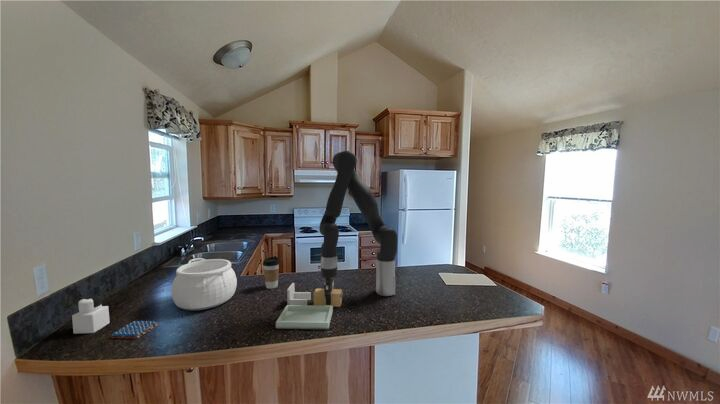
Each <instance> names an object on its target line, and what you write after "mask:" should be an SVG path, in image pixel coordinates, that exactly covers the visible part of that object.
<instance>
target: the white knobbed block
mask: <svg viewBox="0 0 720 404" xmlns="http://www.w3.org/2000/svg"><path fill="white" fill-rule="evenodd" d="M109 311H110V310H109V305H102V296H100V295H92V296H87V297H83V298H82V299H80V300H79V301H78V312H76V313H74V314H72V315H71V319H72V330H73V331H72V332H73V334H75V335H77V334H94V333H96V332H98V331H99V330H101V329H103V328H104V327H106V326H107V325H108V324H110V312H109Z"/></svg>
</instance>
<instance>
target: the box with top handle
mask: <svg viewBox="0 0 720 404" xmlns="http://www.w3.org/2000/svg"><path fill="white" fill-rule="evenodd" d="M342 291H343V289H341V288H337V289H336V288H333V289H332V291H331V305H326V297H325V296H324V295H325V293H324V288H315V290H314V292H313V305H321V306H333V308H335V307H336V308H340V307H341V305H342V302H343V301H342V300H343V295H344V292H342ZM327 294H329V293H327Z"/></svg>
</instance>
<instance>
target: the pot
mask: <svg viewBox="0 0 720 404" xmlns="http://www.w3.org/2000/svg"><path fill="white" fill-rule="evenodd" d="M237 285H238V280H237V276H236V273H235V271H234V269H233V268H232V262H231V260H227V259H223V258H211V259H205V258H202V257H195V258H193V259H190V260H189V261H188V262H187V263H185V264H183V265H180V266H179V267H178V268H177V269H176V271H175V278H174V279H173V283H172V284H171V291H170V292H171V298H172V301H173V303H174V304H175V305H176V306H177V307H178V308H180V309H181V310H184V311H185V310H186V311H203V310H207V309H211V308H212V309H213V308H215V307H218V306H221V305H222V304H224V303H226V302H228V301H230V299H231V298H232V297H233V296H234V295H235V292H236V289H237Z"/></svg>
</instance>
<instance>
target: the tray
mask: <svg viewBox="0 0 720 404" xmlns="http://www.w3.org/2000/svg"><path fill="white" fill-rule="evenodd" d="M333 312H334V307H333V306H321V305H314V304H312V305H311V304H309V305H308V304H307V305H288V304H287V305H286V306H285V307H284V308H283V310H282V312H281V313H280V315H279V316H278V318H277V320H276V321H275V329H281V330H282V329H284V330H285V329H289V330H290V329H291V330H292V329H294V330H296V329H297V330H299V329H300V330H329V328H330V324H331V319H332V316H333Z"/></svg>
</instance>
